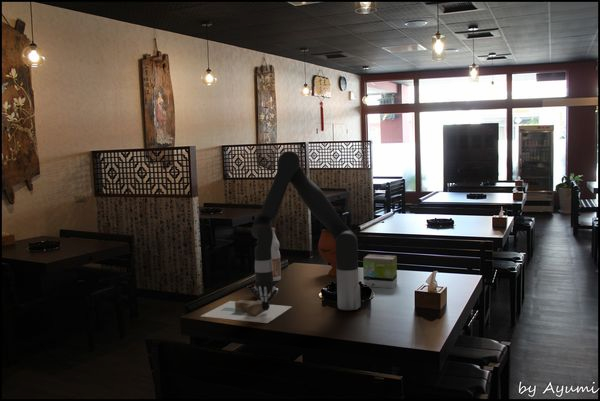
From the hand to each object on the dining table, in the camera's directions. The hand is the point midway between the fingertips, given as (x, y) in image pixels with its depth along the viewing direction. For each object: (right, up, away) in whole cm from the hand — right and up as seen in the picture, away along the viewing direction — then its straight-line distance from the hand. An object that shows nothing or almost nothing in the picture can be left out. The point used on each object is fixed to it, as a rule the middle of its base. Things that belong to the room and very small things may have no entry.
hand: (266, 309), depth 229 cm
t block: (-7, -1, +4) cm, 8 cm away
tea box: (+55, +4, +40) cm, 68 cm away
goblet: (+35, +6, +69) cm, 77 cm away
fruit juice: (0, +4, +61) cm, 62 cm away
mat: (-8, -2, +4) cm, 9 cm away
